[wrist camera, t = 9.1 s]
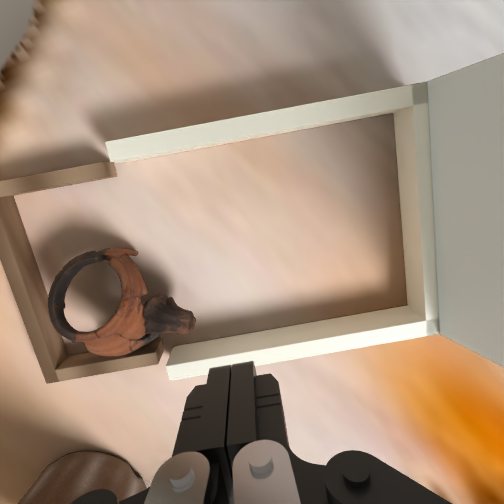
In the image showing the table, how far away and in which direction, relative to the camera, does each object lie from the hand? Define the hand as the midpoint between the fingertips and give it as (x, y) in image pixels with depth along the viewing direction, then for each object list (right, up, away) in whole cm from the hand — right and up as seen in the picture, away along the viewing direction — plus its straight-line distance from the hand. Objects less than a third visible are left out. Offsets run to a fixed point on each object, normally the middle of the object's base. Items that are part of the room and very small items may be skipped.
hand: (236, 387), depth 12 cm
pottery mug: (-10, 0, +21) cm, 24 cm away
